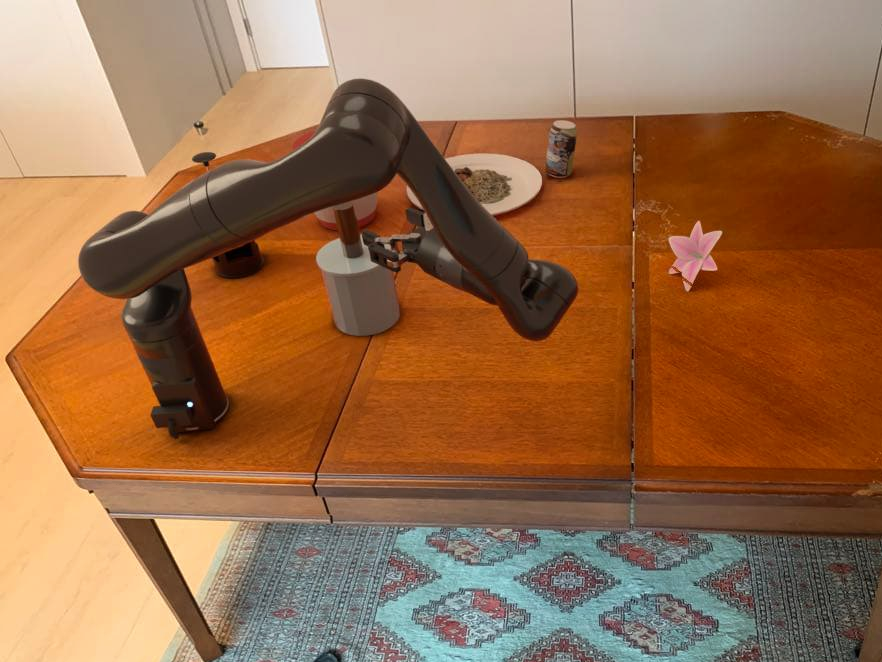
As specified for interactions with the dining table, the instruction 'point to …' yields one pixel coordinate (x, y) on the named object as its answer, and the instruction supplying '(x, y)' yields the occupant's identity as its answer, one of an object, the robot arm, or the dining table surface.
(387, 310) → the grey cup
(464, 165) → the plated food
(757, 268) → the dining table surface
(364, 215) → the citrus juicer
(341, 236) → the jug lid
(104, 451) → the dining table surface
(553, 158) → the beverage can
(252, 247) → the french press
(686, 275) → the lily
